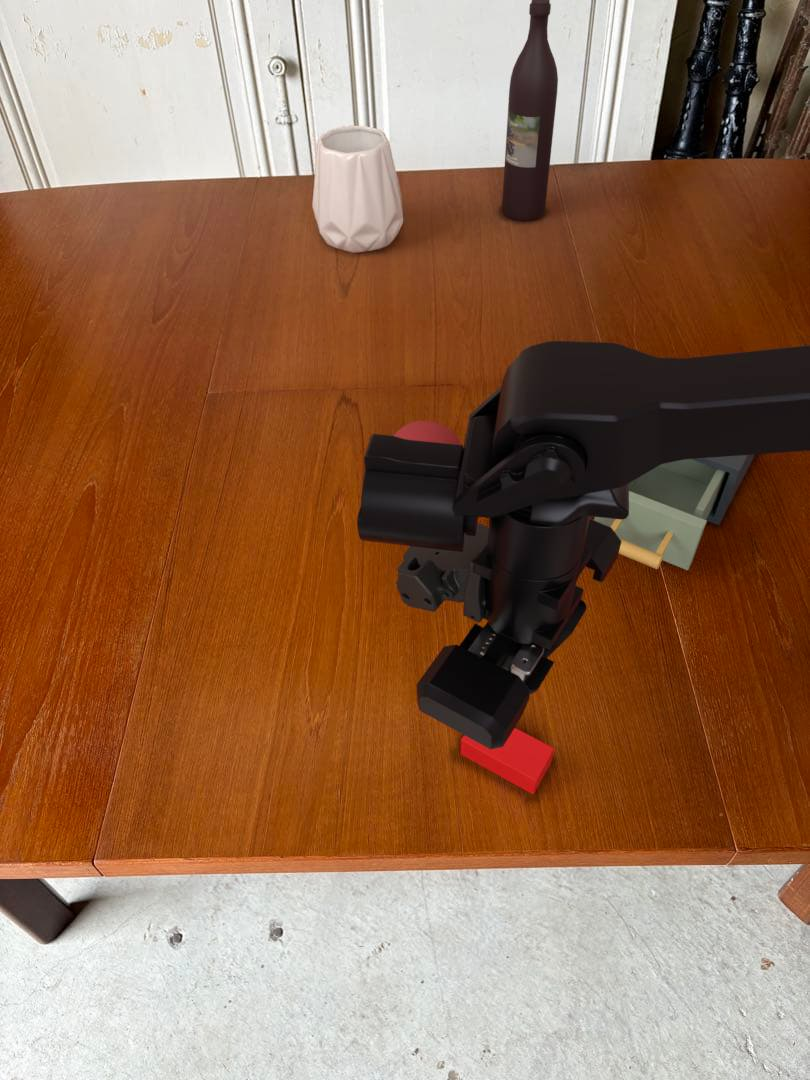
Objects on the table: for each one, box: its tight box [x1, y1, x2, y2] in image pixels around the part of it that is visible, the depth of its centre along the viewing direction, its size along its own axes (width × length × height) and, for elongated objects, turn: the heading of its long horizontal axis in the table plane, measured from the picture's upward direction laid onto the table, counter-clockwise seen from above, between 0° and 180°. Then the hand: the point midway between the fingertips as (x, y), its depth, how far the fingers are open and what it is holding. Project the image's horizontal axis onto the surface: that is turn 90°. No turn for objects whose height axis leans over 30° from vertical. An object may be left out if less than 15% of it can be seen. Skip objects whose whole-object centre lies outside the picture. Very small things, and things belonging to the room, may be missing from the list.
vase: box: [311, 125, 404, 254], centre depth 125 cm, size 14×14×15 cm
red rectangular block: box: [459, 727, 555, 795], centre depth 69 cm, size 7×3×3 cm, turn 58°
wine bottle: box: [501, 0, 559, 222], centre depth 123 cm, size 7×7×30 cm
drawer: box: [593, 459, 728, 571], centre depth 83 cm, size 17×10×6 cm, turn 148°
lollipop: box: [393, 420, 463, 445], centre depth 81 cm, size 8×8×15 cm
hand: (515, 682), depth 61 cm, fingers closed
